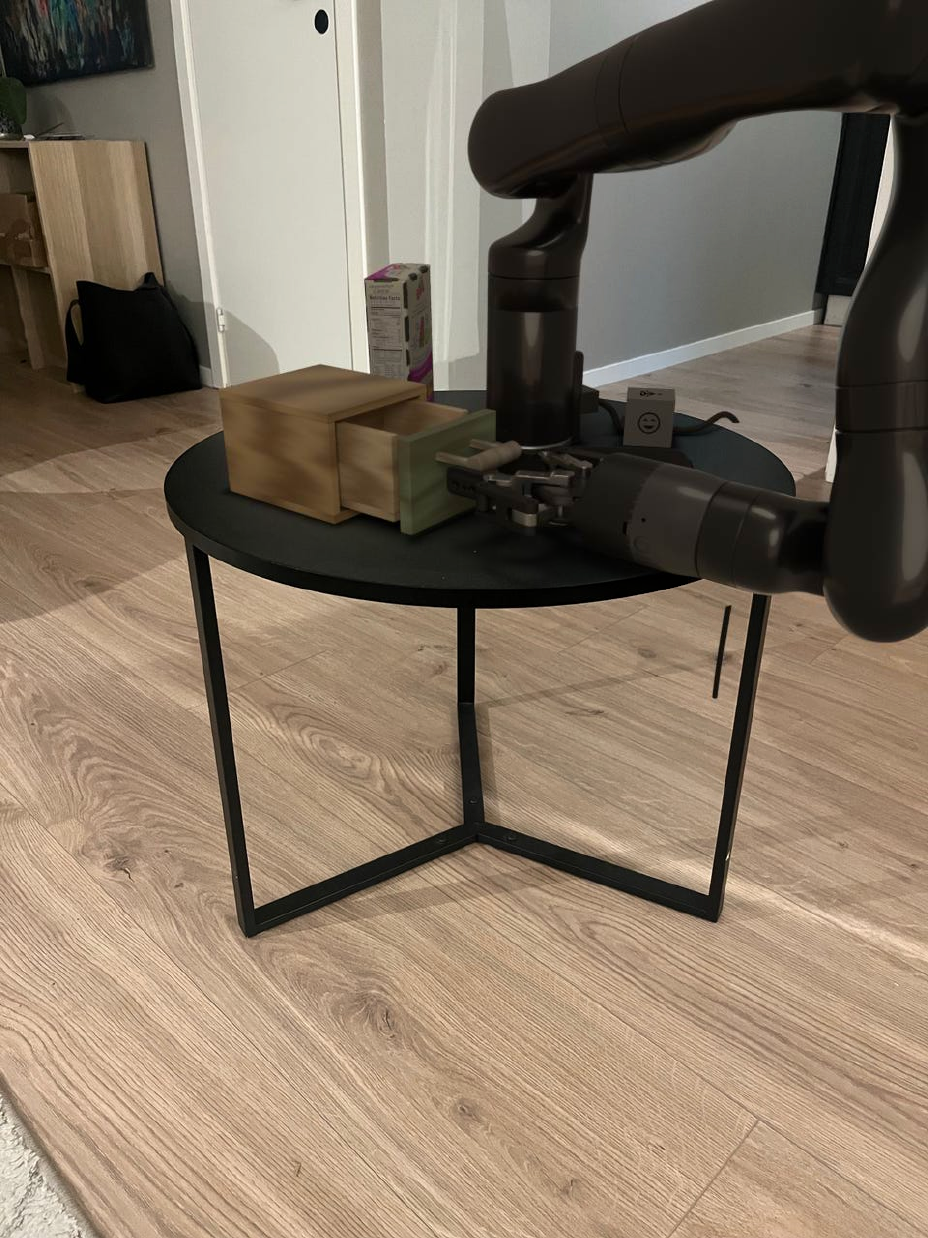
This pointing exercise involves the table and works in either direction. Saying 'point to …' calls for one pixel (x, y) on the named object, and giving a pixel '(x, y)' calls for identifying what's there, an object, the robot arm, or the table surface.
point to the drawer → (414, 460)
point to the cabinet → (299, 433)
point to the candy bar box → (401, 324)
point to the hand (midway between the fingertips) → (475, 467)
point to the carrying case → (639, 453)
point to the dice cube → (649, 417)
